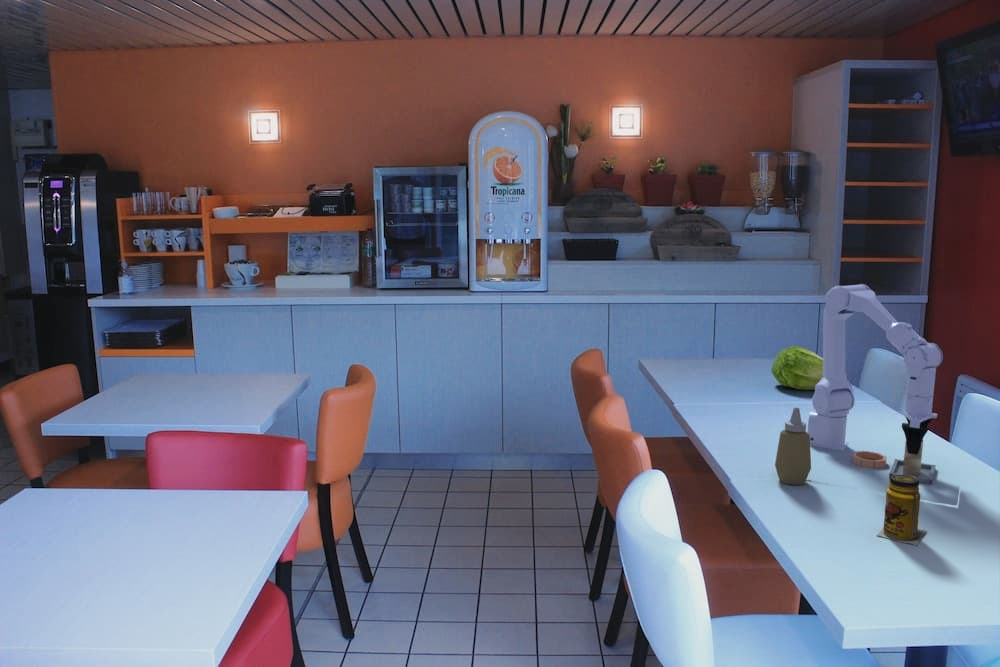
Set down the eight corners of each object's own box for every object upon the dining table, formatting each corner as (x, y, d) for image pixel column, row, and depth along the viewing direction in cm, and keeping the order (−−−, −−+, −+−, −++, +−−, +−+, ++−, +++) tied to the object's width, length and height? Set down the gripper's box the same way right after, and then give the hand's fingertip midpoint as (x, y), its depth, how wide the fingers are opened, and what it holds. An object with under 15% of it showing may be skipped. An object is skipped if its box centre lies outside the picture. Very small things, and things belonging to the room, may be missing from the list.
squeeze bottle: (793, 489, 183) (797, 414, 180) (766, 478, 190) (770, 406, 187) (817, 483, 187) (822, 409, 184) (790, 473, 194) (795, 401, 191)
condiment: (876, 536, 159) (881, 479, 156) (888, 522, 165) (892, 467, 163) (916, 546, 154) (921, 487, 152) (926, 532, 160) (932, 475, 158)
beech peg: (902, 473, 191) (905, 441, 190) (904, 469, 194) (907, 437, 193) (919, 476, 190) (921, 444, 188) (920, 471, 193) (923, 440, 191)
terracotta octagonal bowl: (850, 466, 199) (851, 457, 198) (855, 457, 205) (855, 449, 204) (883, 471, 195) (884, 462, 194) (887, 462, 201) (887, 454, 201)
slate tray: (888, 479, 189) (889, 473, 189) (894, 464, 199) (894, 459, 199) (931, 486, 185) (932, 480, 184) (935, 471, 195) (935, 465, 194)
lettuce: (828, 395, 286) (839, 413, 271) (764, 371, 286) (771, 387, 272) (847, 359, 281) (859, 375, 266) (782, 335, 282) (790, 349, 267)
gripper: (936, 403, 180) (930, 460, 183) (940, 390, 192) (935, 443, 195) (902, 399, 184) (897, 455, 186) (908, 386, 196) (903, 438, 199)
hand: (914, 449), depth 191 cm, fingers open, 7 cm apart
